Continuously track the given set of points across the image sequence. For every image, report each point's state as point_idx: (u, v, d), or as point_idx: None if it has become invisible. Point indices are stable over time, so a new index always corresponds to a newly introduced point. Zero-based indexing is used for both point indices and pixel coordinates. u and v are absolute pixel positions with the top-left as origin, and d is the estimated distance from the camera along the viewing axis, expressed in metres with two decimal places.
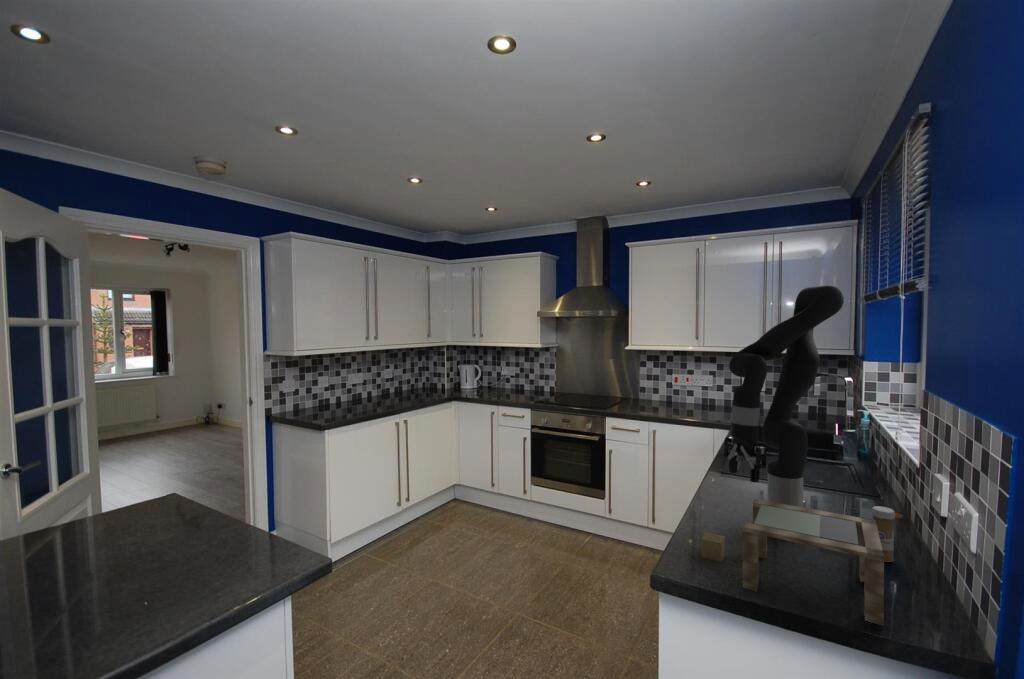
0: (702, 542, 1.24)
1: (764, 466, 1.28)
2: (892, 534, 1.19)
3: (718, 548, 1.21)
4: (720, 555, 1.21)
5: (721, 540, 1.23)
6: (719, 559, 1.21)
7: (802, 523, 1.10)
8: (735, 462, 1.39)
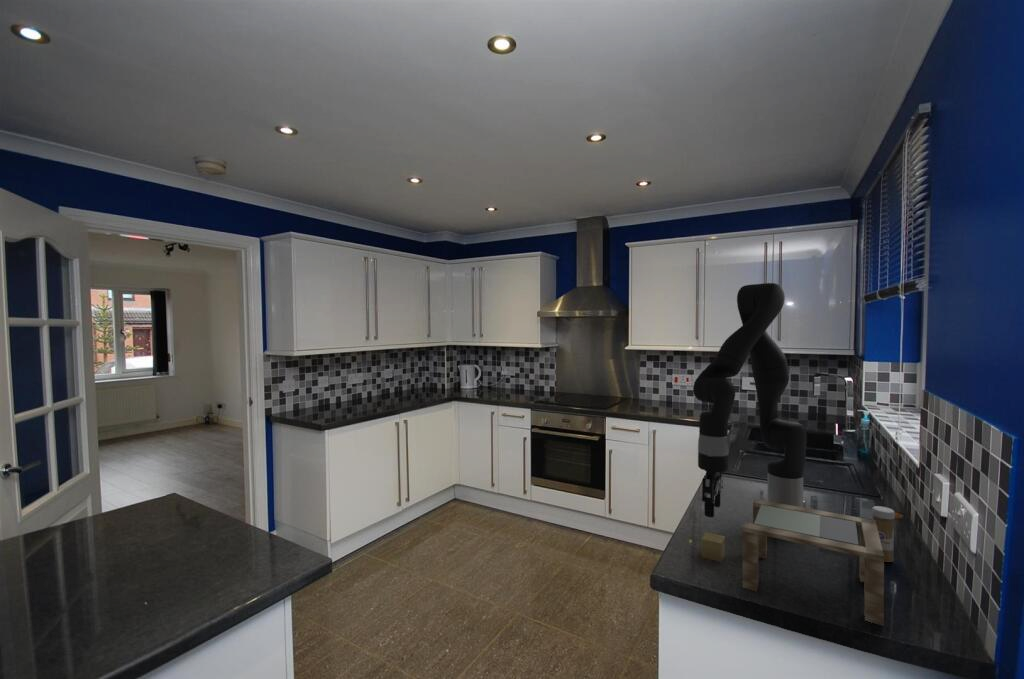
0: (702, 542, 1.24)
1: None
2: (892, 534, 1.19)
3: (718, 548, 1.21)
4: (720, 555, 1.21)
5: (721, 540, 1.23)
6: (719, 559, 1.21)
7: (802, 523, 1.10)
8: None
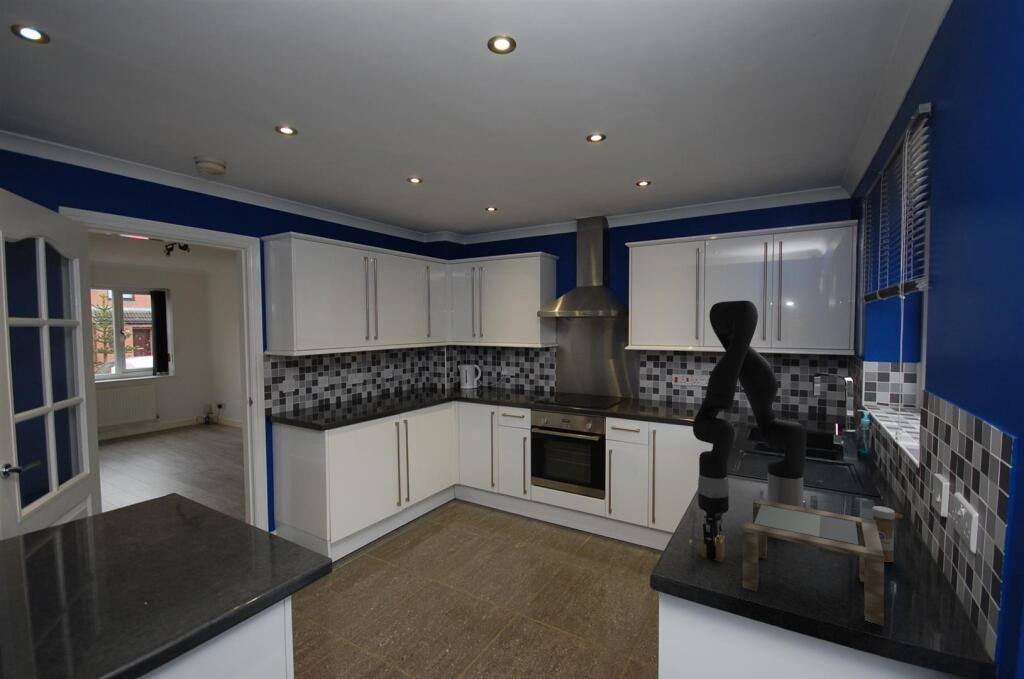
0: (702, 542, 1.24)
1: None
2: (892, 534, 1.19)
3: (718, 547, 1.21)
4: (720, 555, 1.21)
5: (721, 540, 1.23)
6: (719, 559, 1.21)
7: (802, 523, 1.10)
8: None
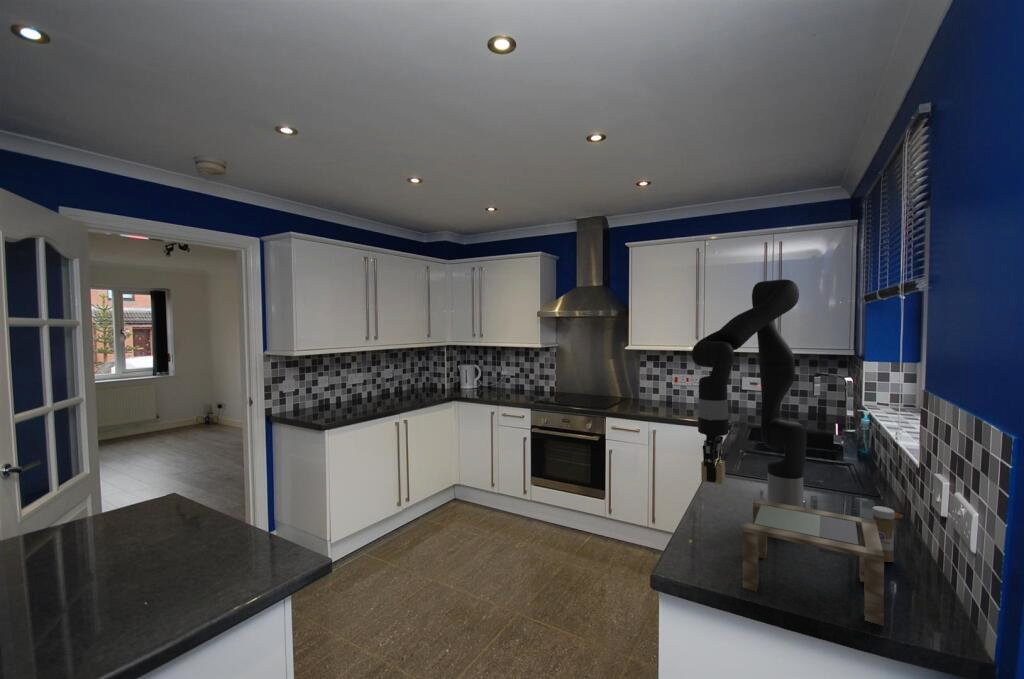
0: (702, 466, 1.23)
1: None
2: (892, 534, 1.19)
3: (718, 470, 1.21)
4: (720, 477, 1.21)
5: (721, 463, 1.22)
6: (720, 482, 1.21)
7: (802, 523, 1.10)
8: None
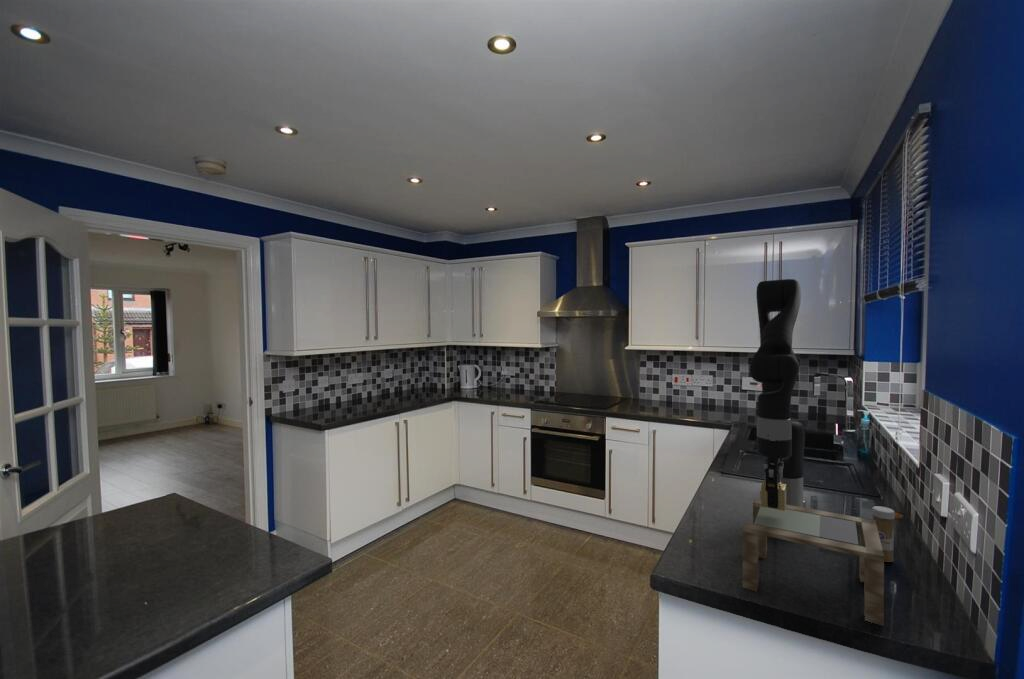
0: (762, 490, 1.13)
1: None
2: (892, 534, 1.19)
3: (781, 495, 1.11)
4: (783, 503, 1.11)
5: (783, 487, 1.12)
6: (782, 508, 1.11)
7: (802, 523, 1.10)
8: None
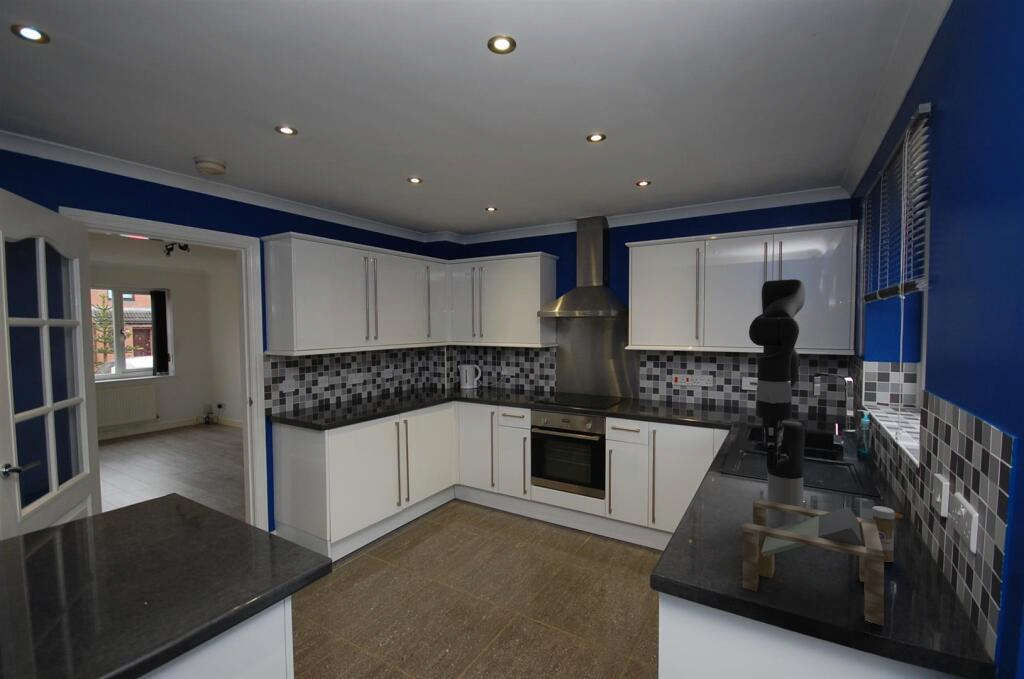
0: None
1: None
2: (892, 534, 1.19)
3: None
4: (763, 557, 1.14)
5: None
6: (769, 559, 1.13)
7: (803, 531, 1.10)
8: None
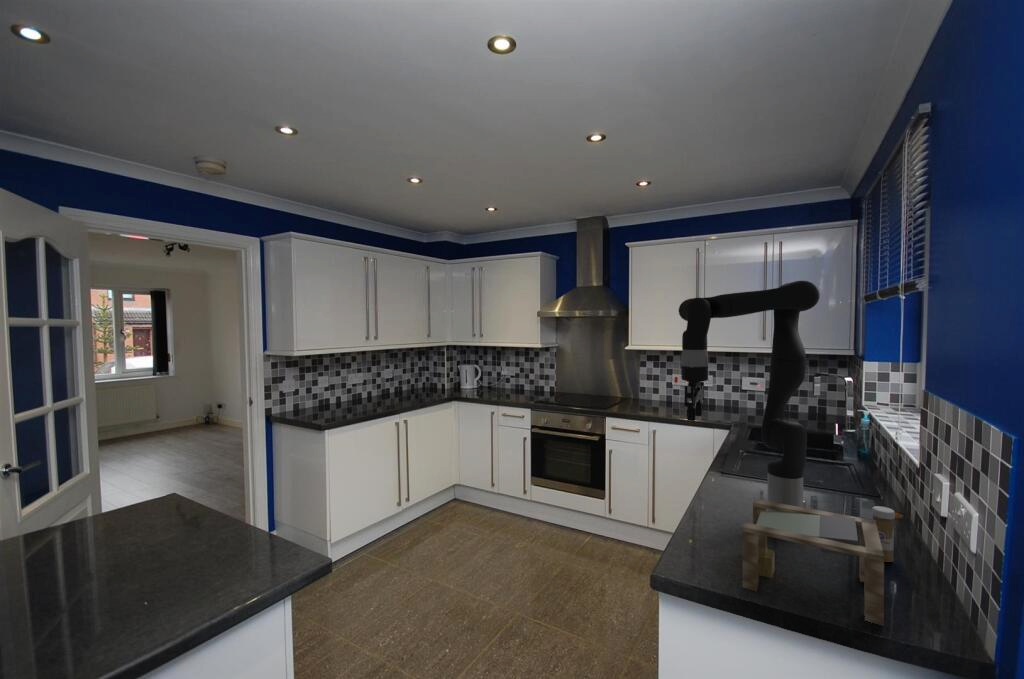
0: None
1: None
2: (892, 534, 1.19)
3: None
4: (763, 557, 1.14)
5: None
6: (769, 559, 1.13)
7: (802, 525, 1.10)
8: None
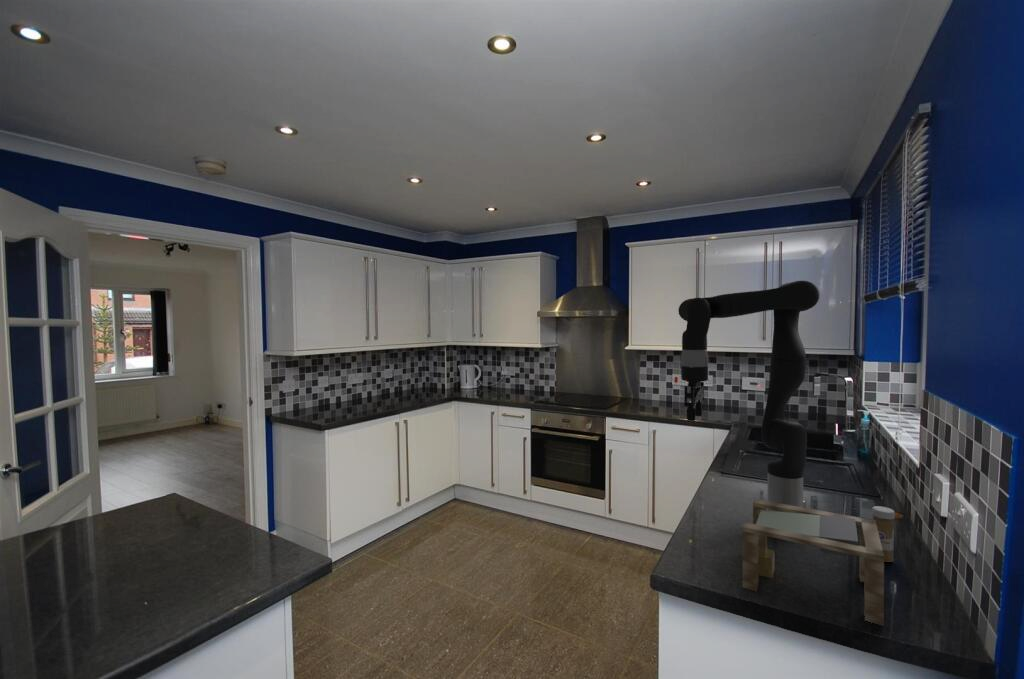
0: None
1: None
2: (892, 534, 1.19)
3: None
4: (763, 557, 1.14)
5: None
6: (769, 559, 1.13)
7: (802, 524, 1.10)
8: None
